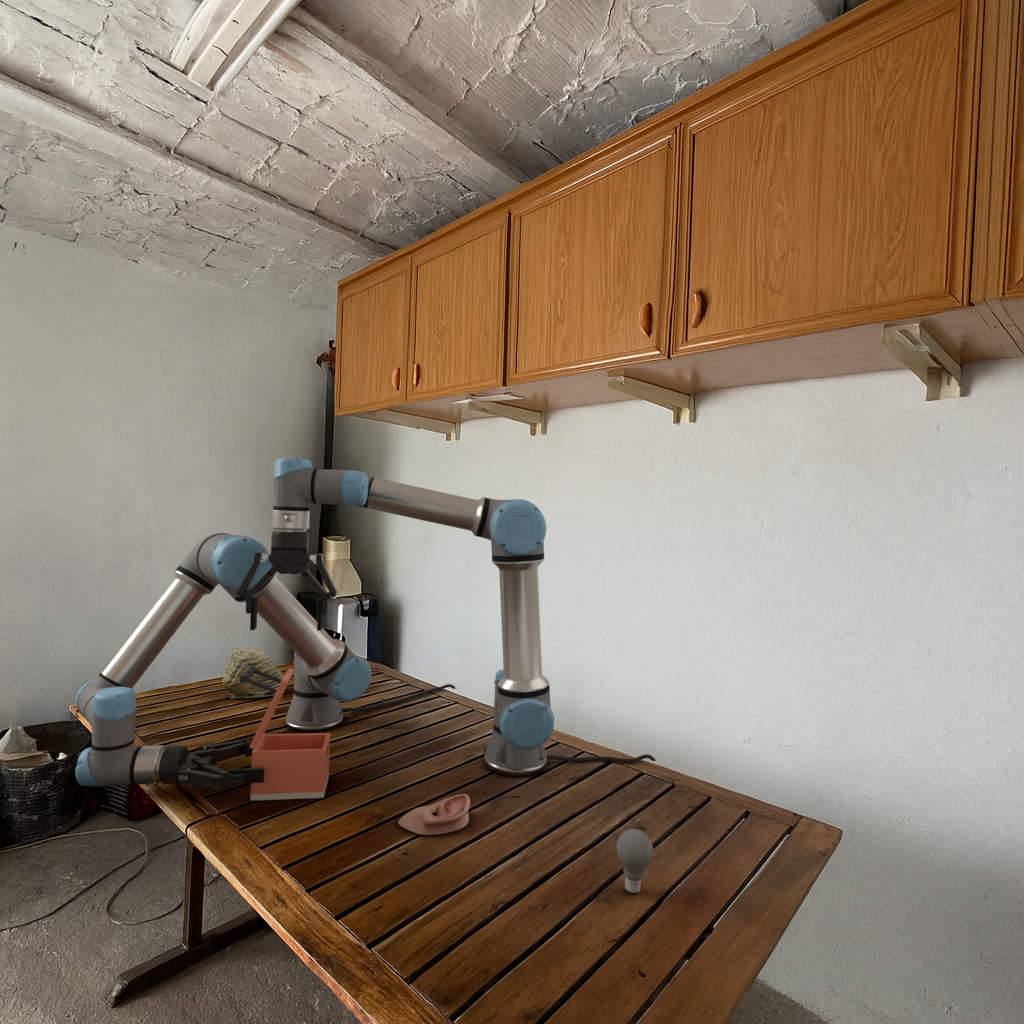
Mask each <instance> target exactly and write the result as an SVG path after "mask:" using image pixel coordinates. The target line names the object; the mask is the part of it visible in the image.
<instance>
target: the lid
mask: <svg viewBox="0 0 1024 1024" xmlns="http://www.w3.org/2000/svg"><path fill="white" fill-rule="evenodd" d="M294 671H295V670H294V668H292V667H288V669H287V671H286V672H285V673H284V675H283V676H284V677H283V679H282V680H281V679H279V678H276V677H274V676H271V675H269V674H266V673H264V672H261V671H259V670H256V667H255V666H253V665H252V666H249V668H248V669H247V670H246V671H245V672H244V673H243V674H242V676H241V677H240V679H239V681H240V682H241V683H246V682H248V683H250V684H253V685H255V686H258V687H260V688H263V689H265V690H268V691H271V692H273V693H275V695H273V697H272V699H271V701H270V703H269V705H268V707H267V709H266V712H265V714H264V716H263V717H262V720H261V722H260V725H259V727H258V728H257V730H256V733H255V735H254V737H253V739H252V741H251V742H250V743H251V745H250V747H249V748H252V749H256V747H257V746H258V744H259V742H260V740H261V739H262V737H263V735H264V734H266V731H267V729H268V727H269V725H270V722H271V721H272V718H273V717H274V714H275V712H276V711H277V708H278V706H279V704H280V702H281V700H282V698H283V696H284V694H285V691H286V690H285V689H287V687H288V685H289V683H290V681H291V679H292V678H293V676H294ZM254 673H255V674H258V675H260V676H263V677H265V678H268V679H270V680H273V681H275V682H278V683H280V685H279V687H278V689H275V688H272V687H270V686H267V685H265V684H262V683H260V682H257V681H255V680H252V679H250V678H251V676H252V675H253V674H254Z"/></svg>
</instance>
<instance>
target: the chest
mask: <svg viewBox="0 0 1024 1024" xmlns="http://www.w3.org/2000/svg"><path fill="white" fill-rule="evenodd" d="M330 747H331V733H330V732H308V733H267V734H266V733H264V735H263V737H262V739H261V740H260V742H259V744H258V746H257V747H256V749H254V750H253V752H252V756H251V768H264V782H263V783H250V795H249V796H250V797H249V798H250V799H249V800H250V801H273V800H300V799H304V800H305V799H324V797H325V793H326V790H327V786H328V782H329V776H330V775H329V774H330V749H331V748H330Z"/></svg>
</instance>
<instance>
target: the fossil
mask: <svg viewBox="0 0 1024 1024" xmlns="http://www.w3.org/2000/svg"><path fill="white" fill-rule="evenodd" d="M252 665H253V666H255V667H256V670H259V671H261V672H264V673H266V674H269V675H271V676H274V677H276V678H279V679H281V680H282V679H283V677H284V676H285V675H284V674H283V673H282V672H281V669H279V668H278V667H277V665H276V663H275V662H274V660H273V659H272V658H271V657H270V656H269V655H268V654H267V653H266V652H265V650H264V649H263V648H260V647H258V648H251V647H247V646H246V647H245V646H238V647H237V648H236V649H235V650H233V651H232V653H231V656H230V657H229V659H228V660H227V663H226V666H225V668H224V671H223V675H222V676H223V677H222V685H223V687H224V688H225V690H226V691H228V693H229V698H230V699H250V698H264V697H271V696H274V695H275V693H273V692H271V691H268V690H265V689H263V688H260V687H258V686H255V685H253V684H250V683H248V682H246V683H241V682H240V681H239V679H240V677H241V676H242V674H243V673H244V672H245V671H246V670H247V669H248V668H249V666H252ZM250 679H252V680H255V681H257V682H260V683H262V684H265V685H267V686H270V687H272V688H275V689H278V687H279V685H280V683H278V682H275V681H273V680H270V679H268V678H265V677H263V676H260V675H258V674H255V673H254V674H253V675H252V676H251V678H250ZM286 689H287V688H286ZM286 689H285V691H286Z"/></svg>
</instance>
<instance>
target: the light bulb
mask: <svg viewBox="0 0 1024 1024" xmlns="http://www.w3.org/2000/svg"><path fill="white" fill-rule="evenodd" d="M615 849H616V854H617V857H618V859H619V861H620V863H621V865H622V867H623V873H624V874H623V875H624V876H625V878H624V888H625V890H627V891H628V892H630V893H634V894H635V893H639V892H640V891H641V889H642V887H641V886H642V879H643V877H644V875H645V871H646V868H647V867H648V866H649V864H650V863H651V861H652V859H653V855H654V847H653V843H652V841H651V838H649V836H648V835H647V834H646V833H645V832H643V831H642V830H641V829H636V828H629V829H627V830H625V831H623V832H622V833H621V834H620V835H619V837H618V839H617V841H616V847H615Z"/></svg>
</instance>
